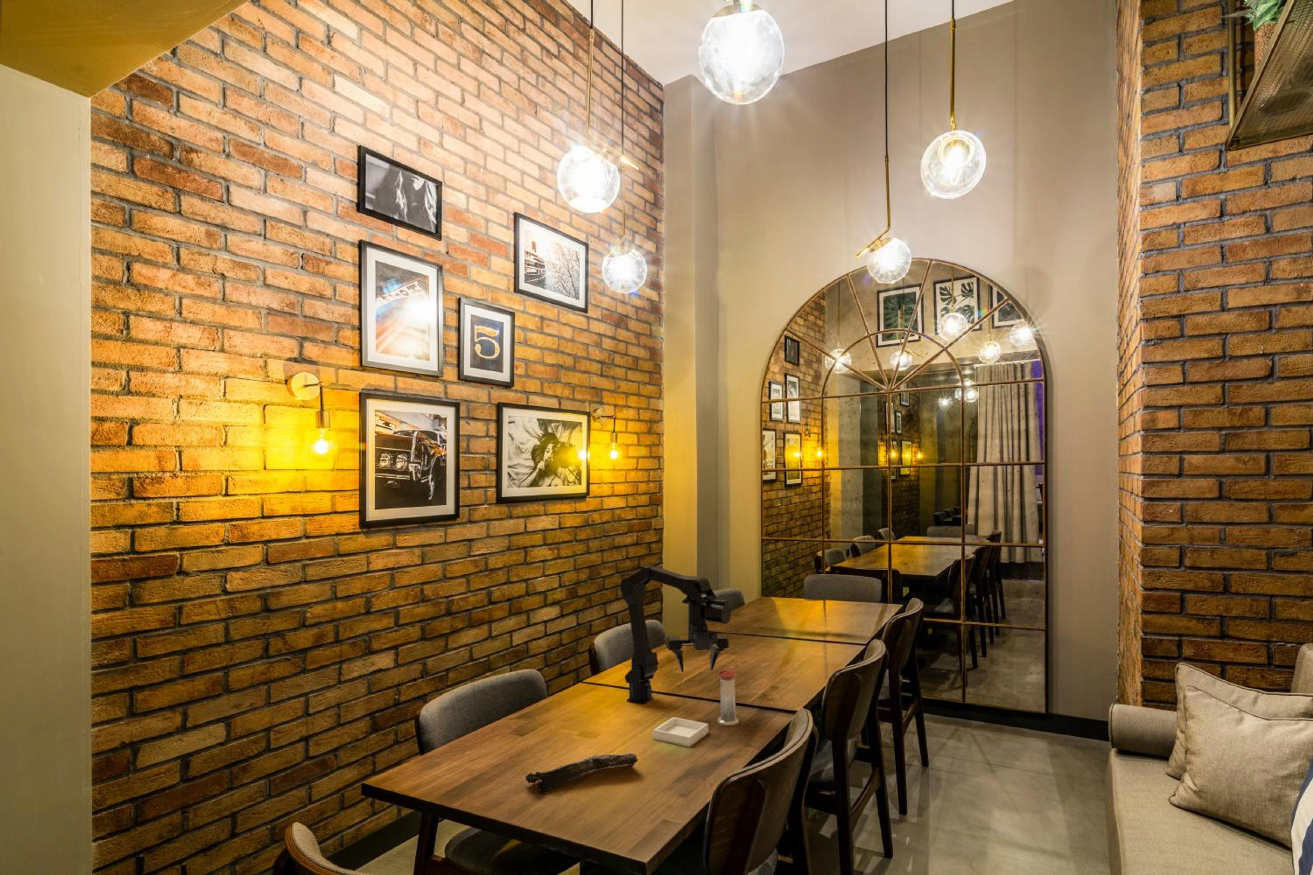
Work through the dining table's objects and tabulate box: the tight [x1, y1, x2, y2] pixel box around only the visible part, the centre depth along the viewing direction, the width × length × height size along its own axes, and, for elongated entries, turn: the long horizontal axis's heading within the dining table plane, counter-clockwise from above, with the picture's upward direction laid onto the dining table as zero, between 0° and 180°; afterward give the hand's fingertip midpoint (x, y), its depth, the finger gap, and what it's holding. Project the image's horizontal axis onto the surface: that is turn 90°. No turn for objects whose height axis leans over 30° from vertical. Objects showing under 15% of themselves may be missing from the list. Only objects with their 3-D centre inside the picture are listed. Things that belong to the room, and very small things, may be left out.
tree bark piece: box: [525, 753, 639, 795], centre depth 159 cm, size 27×9×10 cm
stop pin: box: [717, 668, 740, 727], centre depth 195 cm, size 6×6×15 cm
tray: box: [652, 716, 709, 748], centre depth 185 cm, size 11×11×2 cm
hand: (696, 670), depth 203 cm, fingers open, 9 cm apart
